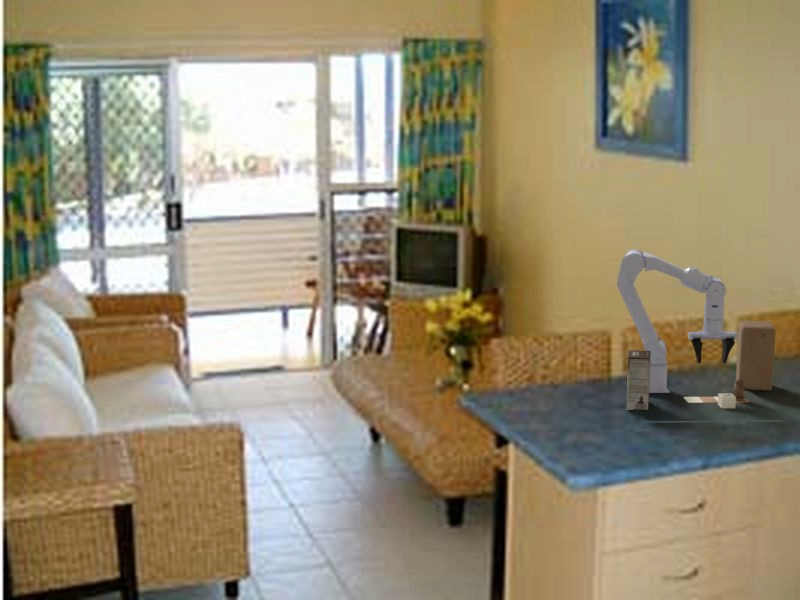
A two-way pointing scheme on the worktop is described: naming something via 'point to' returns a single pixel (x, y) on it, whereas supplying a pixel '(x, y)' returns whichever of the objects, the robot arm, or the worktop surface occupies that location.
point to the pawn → (739, 389)
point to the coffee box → (638, 379)
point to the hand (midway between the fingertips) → (711, 362)
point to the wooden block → (756, 354)
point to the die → (726, 400)
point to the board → (704, 400)
